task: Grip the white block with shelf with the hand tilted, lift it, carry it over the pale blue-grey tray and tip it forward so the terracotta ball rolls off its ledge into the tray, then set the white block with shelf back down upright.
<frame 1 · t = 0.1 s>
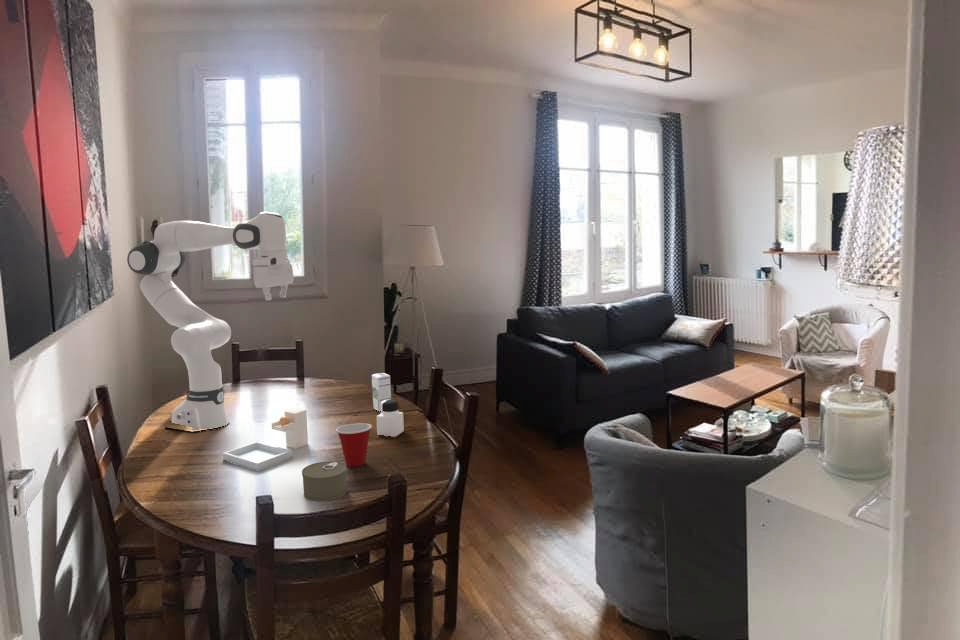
hand: (275, 298, 226), 48 cm above the table, tool pointing down, fingers open, 8 cm apart
plastic cup: (355, 464, 200), on the table
syrup box: (382, 410, 258), on the table
tray: (257, 459, 204), on the table
white block with shelf: (297, 445, 217), on the table, touching ball
medicine bottle: (390, 433, 228), on the table
can: (325, 493, 178), on the table
ball: (284, 421, 212), point 10 cm above the table, touching white block with shelf
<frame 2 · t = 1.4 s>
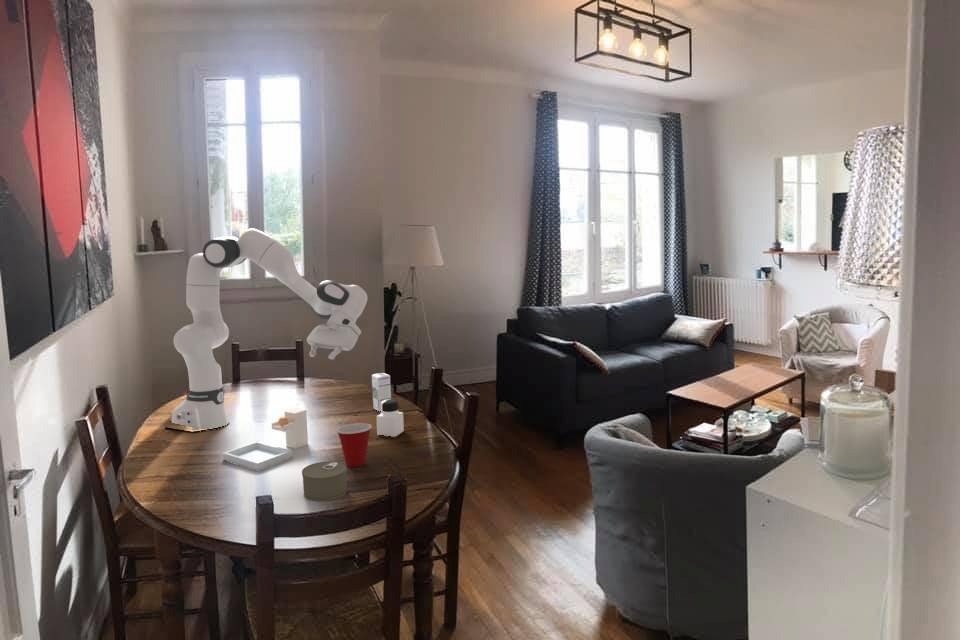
hand: (320, 357, 223), 28 cm above the table, tool tilted 45°, fingers open, 8 cm apart
ball: (283, 421, 212), point 10 cm above the table, tilted 14°, touching white block with shelf
everything else where it was.
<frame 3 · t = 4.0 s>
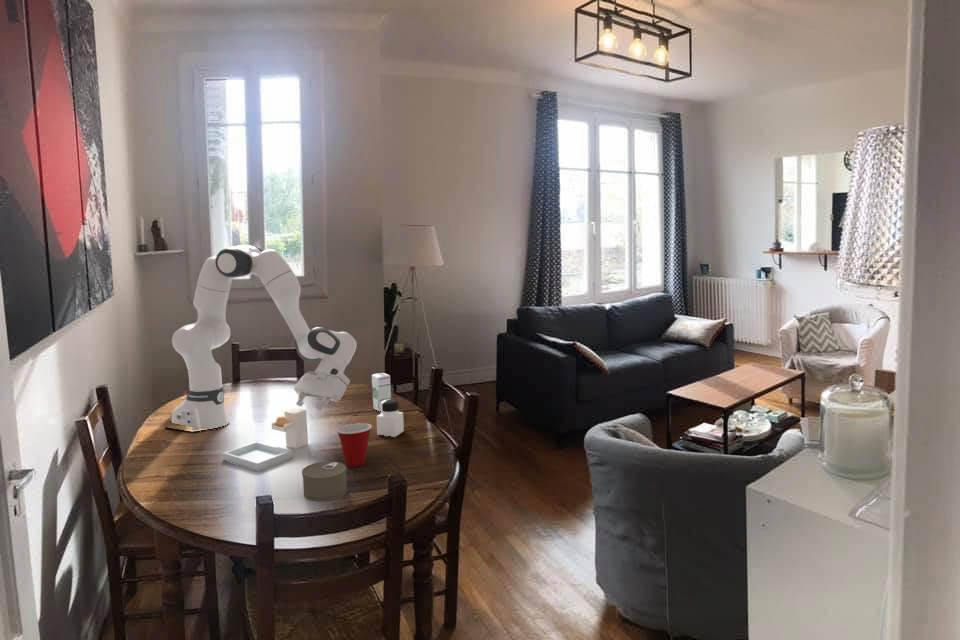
hand: (308, 407, 220), 12 cm above the table, tool tilted 45°, fingers open, 8 cm apart
ball: (281, 421, 212), point 10 cm above the table, tilted 36°, touching white block with shelf
everything else where it was.
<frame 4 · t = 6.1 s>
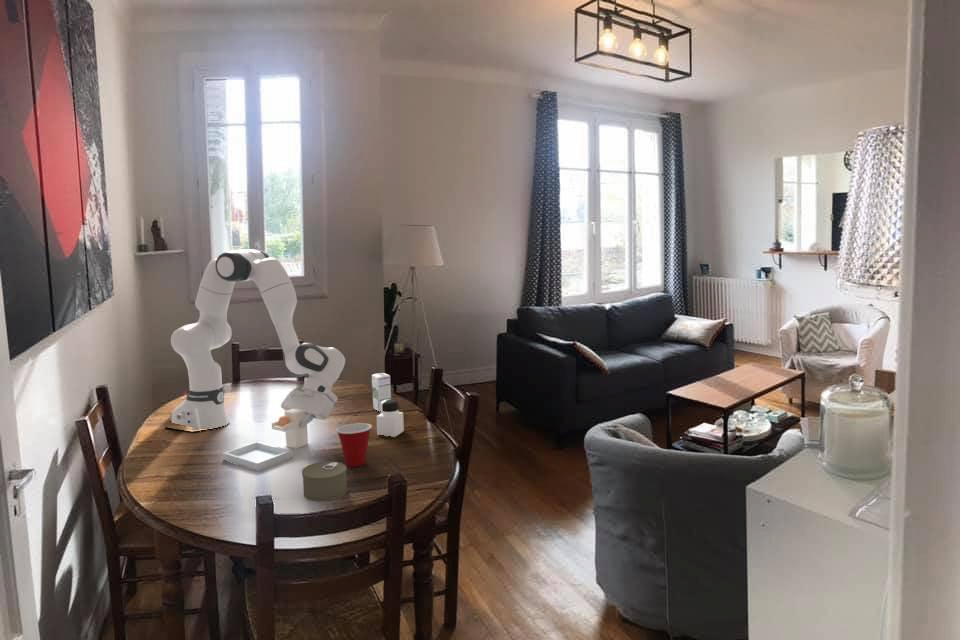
hand: (294, 425, 216), 7 cm above the table, tool tilted 45°, fingers closed on white block with shelf, 5 cm apart
white block with shelf: (297, 445, 217), on the table, touching ball, gripper
ball: (283, 420, 213), point 10 cm above the table, tilted 25°, touching white block with shelf
everything else where it was.
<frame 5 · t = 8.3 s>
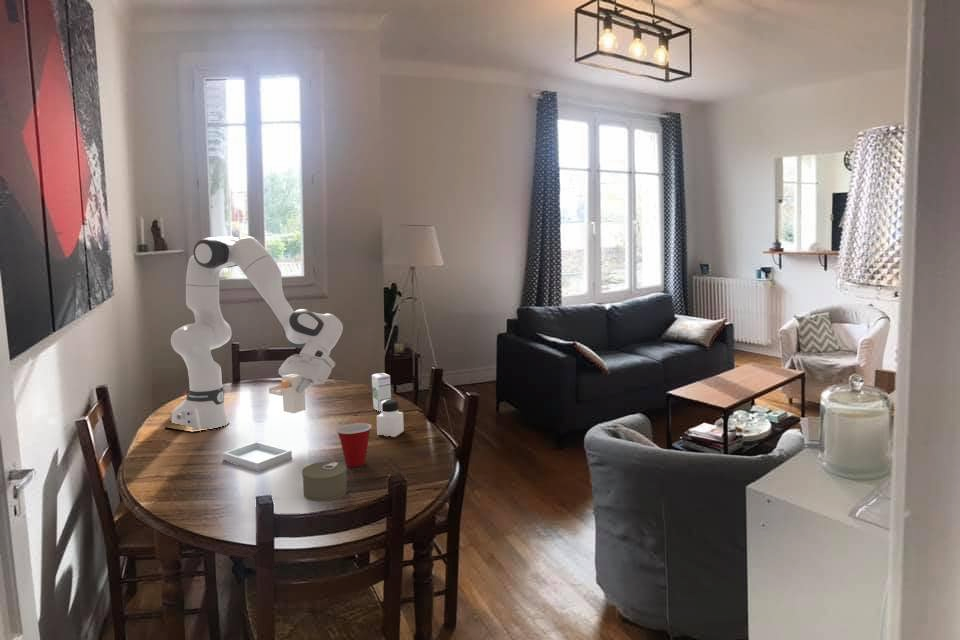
hand: (292, 390, 214), 19 cm above the table, tool tilted 45°, fingers closed on white block with shelf, 5 cm apart
white block with shelf: (294, 410, 215), point 12 cm above the table, touching ball, gripper
ball: (285, 385, 210), point 22 cm above the table, tilted 44°, touching white block with shelf
everything else where it was.
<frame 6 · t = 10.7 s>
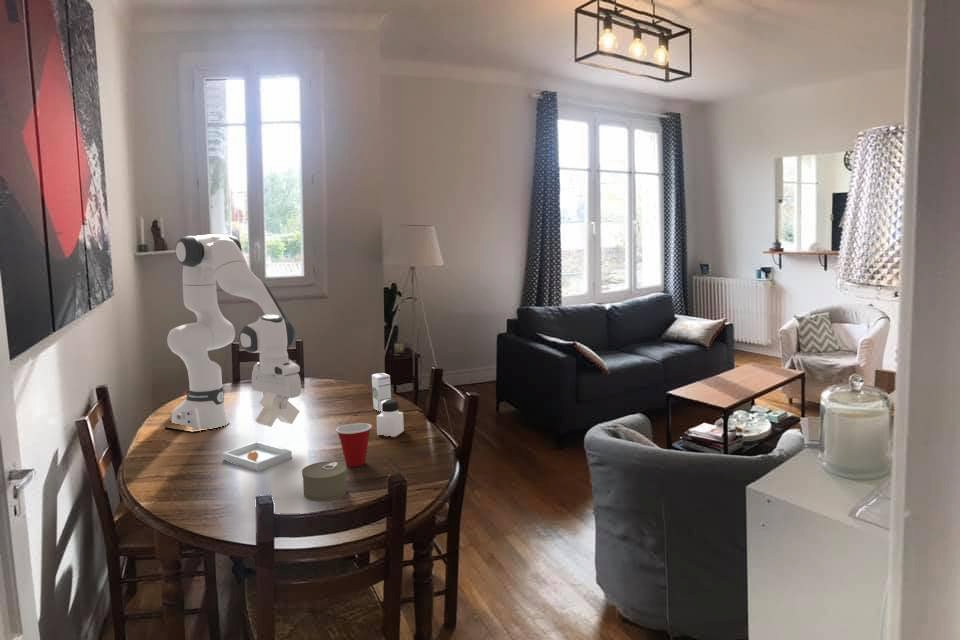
hand: (276, 407, 209), 15 cm above the table, tool pointing down, fingers closed on white block with shelf, 5 cm apart
white block with shelf: (290, 416, 214), point 10 cm above the table, tilted 45°, touching gripper
ball: (252, 456, 201), point 2 cm above the table, tilted 29°, touching tray
everything else where it was.
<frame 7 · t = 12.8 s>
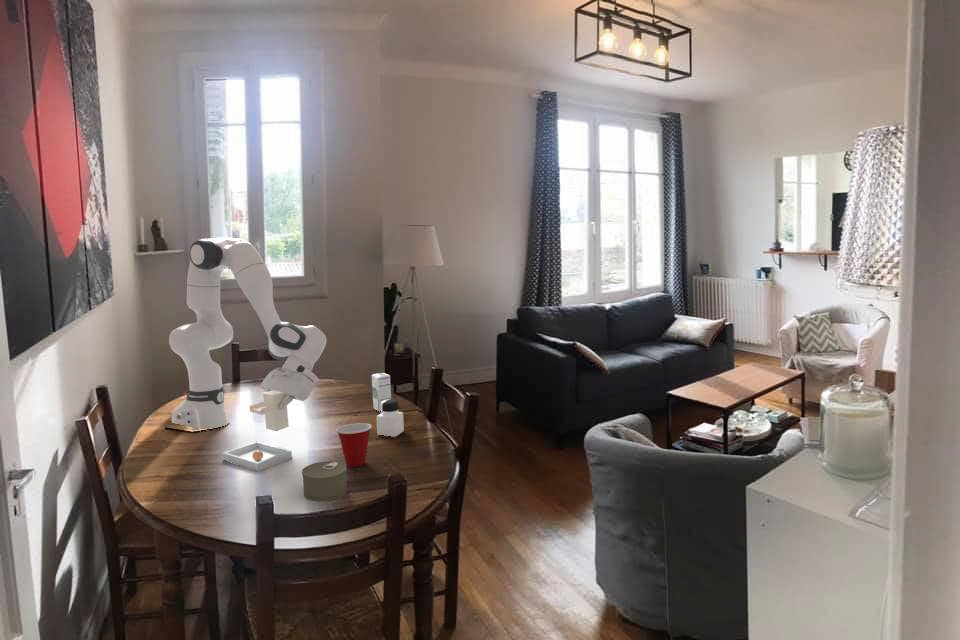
hand: (273, 406, 208), 15 cm above the table, tool tilted 45°, fingers closed on white block with shelf, 5 cm apart
white block with shelf: (277, 427, 210), point 8 cm above the table, touching gripper
ball: (257, 455, 201), point 2 cm above the table, tilted 63°, touching tray
everything else where it was.
when the fingers open (8 cm above the table, at t = 16.0 s): white block with shelf drops 1 cm, on the table.
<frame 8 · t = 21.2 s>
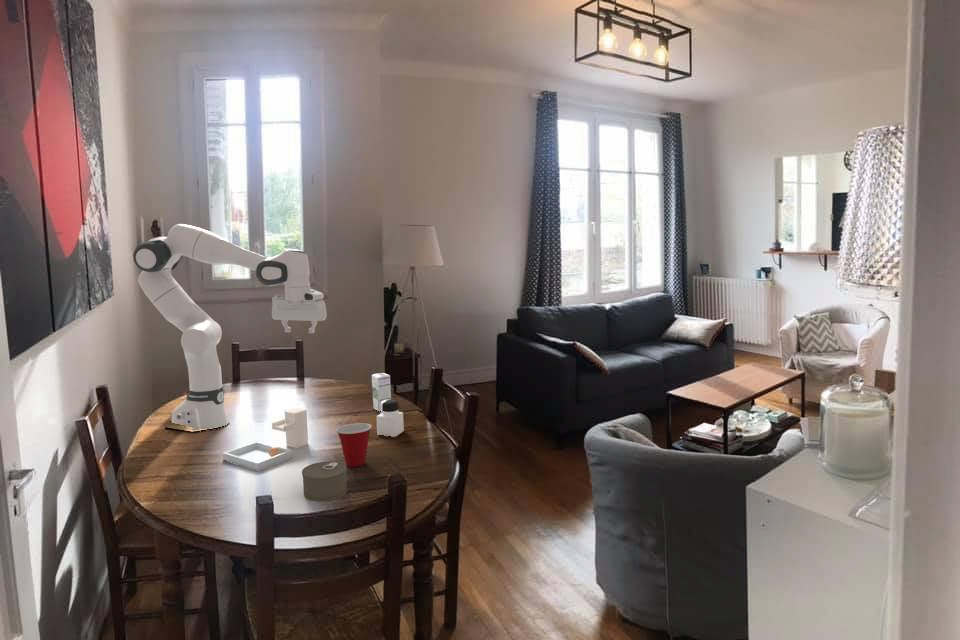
hand: (299, 332, 232), 35 cm above the table, tool pointing down, fingers open, 8 cm apart
white block with shelf: (297, 444, 217), on the table
ball: (273, 452, 204), point 2 cm above the table, tilted 124°, touching tray
everything else where it was.
at the end: ball inside the target area on the tray (5.1 cm from its centre), point 2.2 cm above the tray's base; white block with shelf tilted 0°; white block with shelf touching table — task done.
